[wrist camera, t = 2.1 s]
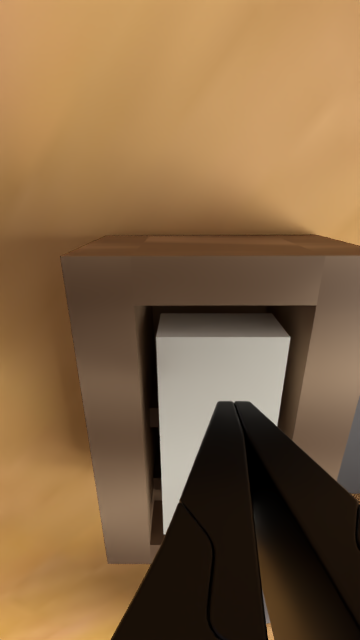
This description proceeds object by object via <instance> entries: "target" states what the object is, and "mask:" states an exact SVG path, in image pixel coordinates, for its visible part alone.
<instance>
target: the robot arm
mask: <svg viewBox="0 0 360 640" xmlns="http://www.w3.org/2000/svg"><path fill="white" fill-rule="evenodd" d="M262 590H263V592H262ZM263 594H264V598H265V603H266V607H267V611H268V615H269V619H270V623H271V627H272V631H273V636H274V640H360V504H359V502H358V500H357V499H356V498H355V497H353V496H352V495H351V494H350V493H349V492H348V491H347V490H346V489H345V488H344V487H343V486H341V485H340V484H339V483H338V482H337V481H336V480H335V479H334V478H333V477H332V476H331V475H329V474H328V473H327V472H326V471H325V470H324V469H323V468H322V467H321V466H320V465H319V464H318V463H316V462H315V461H314V460H313V459H312V458H311V457H310V456H309V455H308V454H307V453H306V452H304V451H303V450H302V449H301V448H300V447H299V446H298V445H297V444H296V443H295V442H294V441H293V440H291V439H290V438H289V437H288V436H287V435H286V434H285V433H284V432H283V431H282V430H281V429H279V428H278V427H277V426H276V425H275V424H274V423H273V422H272V421H271V420H270V419H269V418H267V417H266V416H265V415H264V414H263V413H262V412H261V411H260V410H259V409H258V408H257V407H256V406H254V405H253V404H252V403H251V402H249V401H235V402H234V403H233V402H232V401H218V402H217V404H216V406H215V409H214V412H213V414H212V417H211V419H210V422H209V425H208V427H207V430H206V432H205V435H204V438H203V440H202V443H201V445H200V448H199V451H198V453H197V456H196V458H195V461H194V463H193V466H192V469H191V471H190V474H189V476H188V479H187V482H186V484H185V487H184V489H183V492H182V495H181V497H180V500H179V503H178V504H177V507H176V509H175V512H174V515H173V517H172V520H171V522H170V524H169V527H168V529H167V531H166V534H165V536H164V538H163V541H162V543H161V545H160V547H159V549H158V551H157V553H156V555H155V557H154V559H153V561H152V563H151V565H150V567H149V569H148V571H147V573H146V575H145V577H144V579H143V581H142V583H141V585H140V586H139V588H138V590H137V592H136V594H135V596H134V598H133V599H132V601H131V603H130V605H129V607H128V609H127V610H126V612H125V614H124V616H123V618H122V620H121V621H120V623H119V625H118V627H117V629H116V631H115V633H114V634H113V636H112V638H111V640H268V636H267V627H266V618H265V609H264V601H263Z"/></svg>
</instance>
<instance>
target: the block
mask: <svg viewBox="0 0 360 640" xmlns="http://www.w3.org/2000/svg"><path fill="white" fill-rule="evenodd" d="M290 338H291V337H290V336H289V335H288V333H287V332H286V331H285V330H284V328H283V327H282V326H281V324H280V323H279V322H278V321H277V319H276V318H275V317H274V315H273V314H272V313H161V315H160V320H159V325H158V330H157V335H156V348H157V374H158V401H159V427H160V453H161V479H162V505H163V531H164V534H166V531H167V529H168V527H169V524H170V522H171V520H172V517H173V515H174V512H175V509H176V507H177V504H178V503H179V500H180V497H181V495H182V492H183V489H184V487H185V484H186V482H187V479H188V476H189V474H190V471H191V469H192V466H193V463H194V461H195V458H196V456H197V453H198V451H199V448H200V445H201V443H202V440H203V438H204V435H205V432H206V430H207V427H208V425H209V422H210V419H211V417H212V414H213V412H214V409H215V406H216V404H217V402H218V401H232V402H233V403H234V402H235V401H249V402H251V403H252V404H253V405H254V406H256V407H257V408H258V409H259V410H260V411H261V412H262V413H263V414H264V415H265V416H266V417H267V418H269V419H270V420H271V421H272V422H273V423H274V424H275V425H276V426H277V424H278V417H279V411H280V404H281V397H282V391H283V384H284V378H285V371H286V364H287V358H288V351H289V344H290Z"/></svg>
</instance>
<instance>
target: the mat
mask: <svg viewBox="0 0 360 640" xmlns="http://www.w3.org/2000/svg"><path fill="white" fill-rule="evenodd" d="M337 482H338V483H339V484H340V485H341V486H343V487H344V488H345V489H346V490H347V491H348V492H349V493H352V494H360V396H359V400H358V403H357V407H356V411H355V415H354V418H353V422H352V426H351V429H350V433H349V437H348V440H347V444H346V448H345V452H344V455H343V459H342V463H341V466H340V470H339V474H338V478H337Z"/></svg>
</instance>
